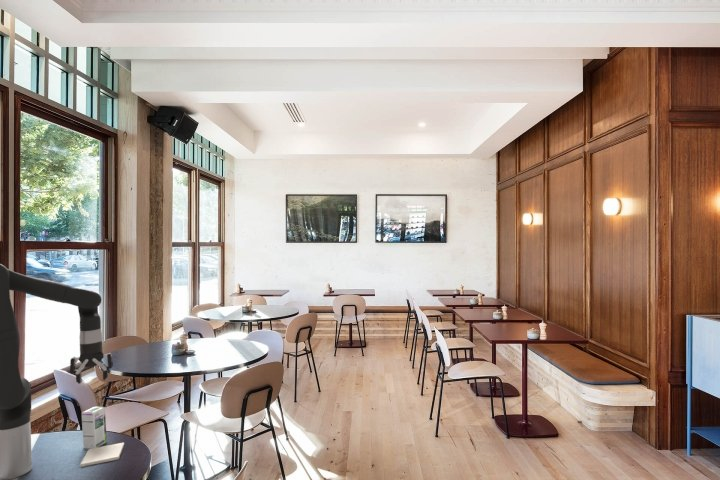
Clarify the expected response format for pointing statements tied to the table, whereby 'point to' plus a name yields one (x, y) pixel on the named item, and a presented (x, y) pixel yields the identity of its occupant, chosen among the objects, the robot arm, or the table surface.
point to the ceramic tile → (102, 454)
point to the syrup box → (94, 427)
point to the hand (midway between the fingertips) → (92, 381)
